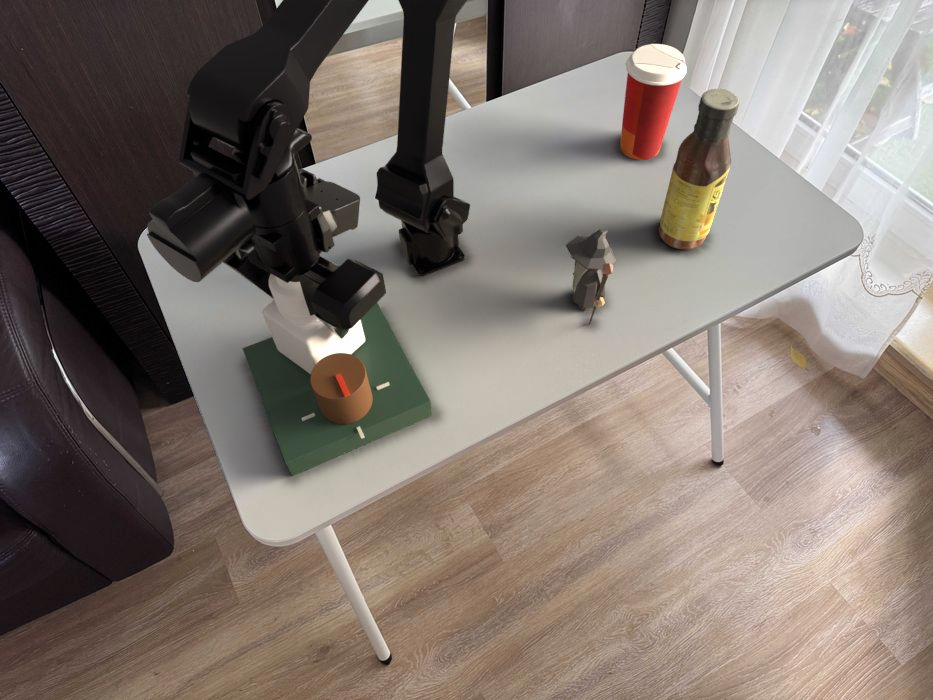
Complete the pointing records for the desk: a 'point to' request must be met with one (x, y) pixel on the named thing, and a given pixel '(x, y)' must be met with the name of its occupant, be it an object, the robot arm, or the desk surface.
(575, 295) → the wizard figurine
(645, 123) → the paper cup
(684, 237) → the sauce bottle
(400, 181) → the robot arm
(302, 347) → the medicine bottle
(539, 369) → the desk surface
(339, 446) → the rotary dial base
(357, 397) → the rotary dial knob
